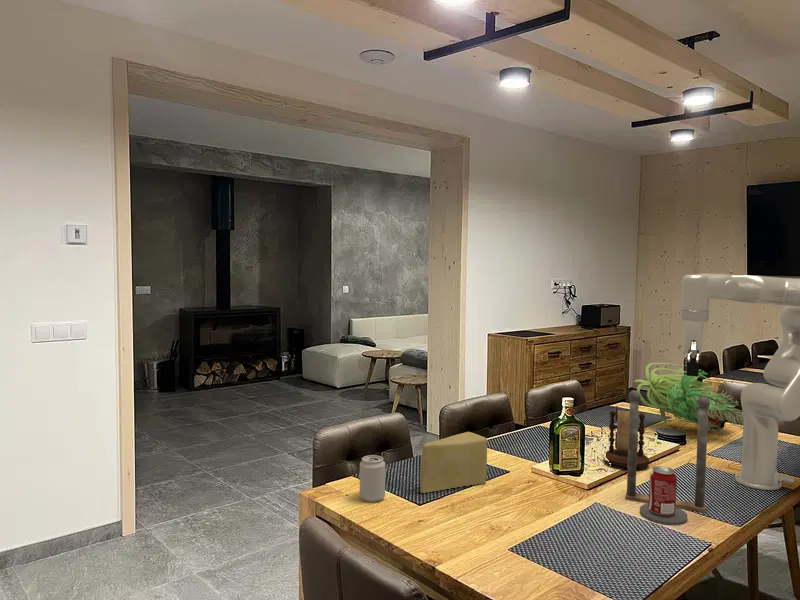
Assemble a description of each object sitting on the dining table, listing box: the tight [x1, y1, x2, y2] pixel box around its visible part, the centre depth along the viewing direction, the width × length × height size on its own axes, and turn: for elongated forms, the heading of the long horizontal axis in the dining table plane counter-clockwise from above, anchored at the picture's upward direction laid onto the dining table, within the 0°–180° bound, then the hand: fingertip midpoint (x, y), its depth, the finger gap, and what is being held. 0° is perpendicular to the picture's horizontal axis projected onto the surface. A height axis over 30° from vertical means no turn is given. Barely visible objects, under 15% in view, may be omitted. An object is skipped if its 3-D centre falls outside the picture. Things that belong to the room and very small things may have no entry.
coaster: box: [639, 503, 688, 526], centre depth 166 cm, size 12×12×1 cm
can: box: [359, 454, 386, 503], centre depth 176 cm, size 8×8×12 cm
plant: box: [632, 362, 743, 441], centre depth 248 cm, size 35×35×40 cm
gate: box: [624, 389, 711, 514], centre depth 173 cm, size 21×4×32 cm, turn 64°
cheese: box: [419, 431, 488, 494], centre depth 186 cm, size 22×10×15 cm, turn 124°
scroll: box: [605, 405, 650, 471], centre depth 207 cm, size 15×15×20 cm
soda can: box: [648, 465, 678, 516], centre depth 165 cm, size 7×7×12 cm
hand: (692, 373), depth 181 cm, fingers open, 9 cm apart
